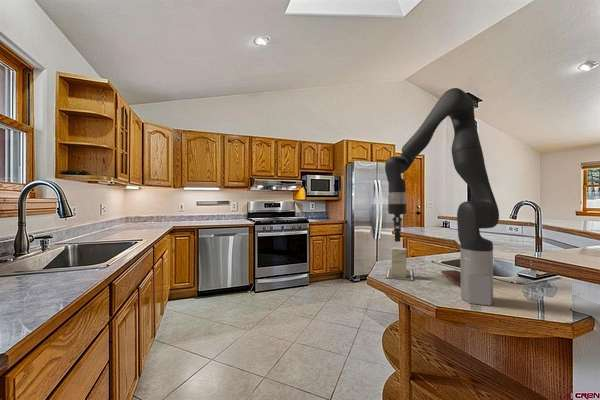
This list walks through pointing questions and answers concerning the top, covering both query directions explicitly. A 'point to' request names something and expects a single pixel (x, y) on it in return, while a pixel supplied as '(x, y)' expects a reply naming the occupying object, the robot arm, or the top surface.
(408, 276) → the mat
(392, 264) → the skincare box
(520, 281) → the top surface
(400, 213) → the robot arm
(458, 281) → the wooden tablet
